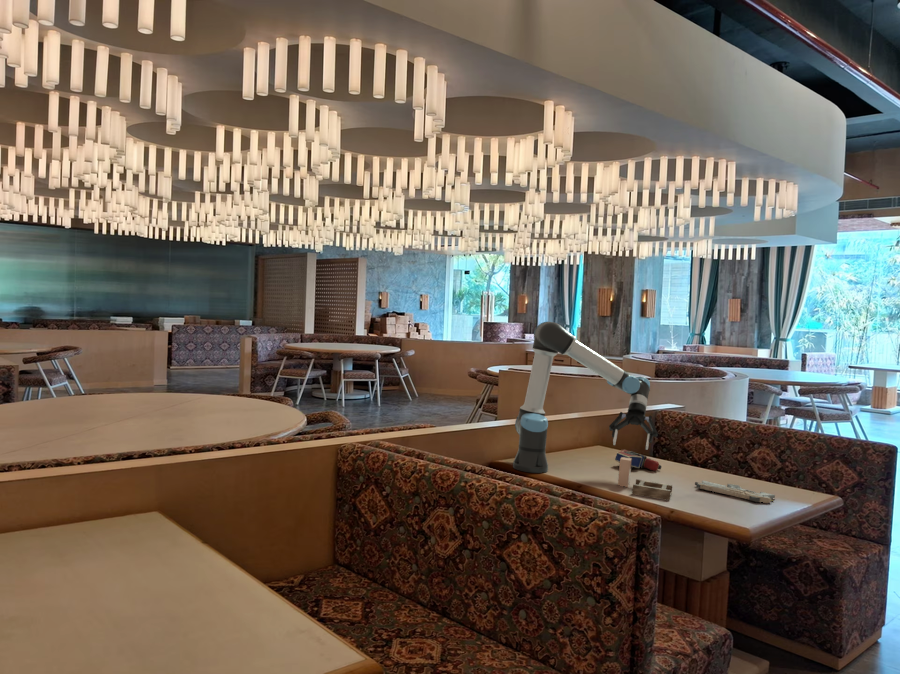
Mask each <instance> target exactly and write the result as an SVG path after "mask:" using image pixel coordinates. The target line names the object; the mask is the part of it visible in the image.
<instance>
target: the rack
mask: <svg viewBox="0 0 900 674" xmlns="http://www.w3.org/2000/svg"><path fill="white" fill-rule="evenodd" d="M631 494H632V495H634V494H635V495H636V496H641V497H646V498H653V499H658V500H665V501H670V500H671V497H672V494H673V484H668V483H662V482H656V481H652V480H651V481H649V480H644V479H643V480H642V479H635V483H633V484H632V491H631Z"/></svg>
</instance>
